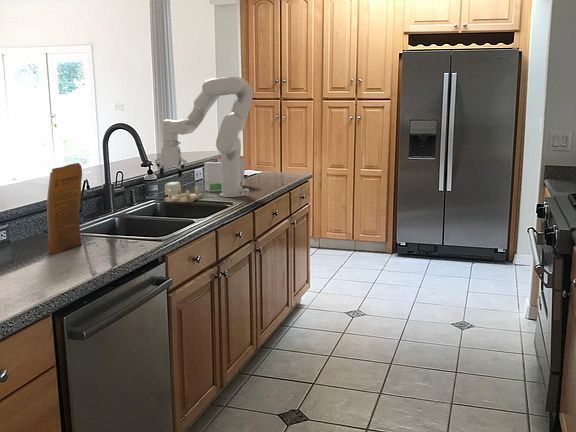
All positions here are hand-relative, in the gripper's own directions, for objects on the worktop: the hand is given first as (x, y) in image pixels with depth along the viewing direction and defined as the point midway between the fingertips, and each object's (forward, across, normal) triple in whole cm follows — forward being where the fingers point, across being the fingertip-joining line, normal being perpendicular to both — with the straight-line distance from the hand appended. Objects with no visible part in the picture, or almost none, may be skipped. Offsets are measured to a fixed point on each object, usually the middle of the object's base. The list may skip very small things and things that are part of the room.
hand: (171, 176), depth 325 cm
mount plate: (+9, -12, +15) cm, 21 cm away
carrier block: (+10, -1, 0) cm, 10 cm away
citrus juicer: (+9, -24, -35) cm, 43 cm away
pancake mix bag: (+9, -7, +121) cm, 122 cm away
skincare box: (+9, -19, -15) cm, 26 cm away
